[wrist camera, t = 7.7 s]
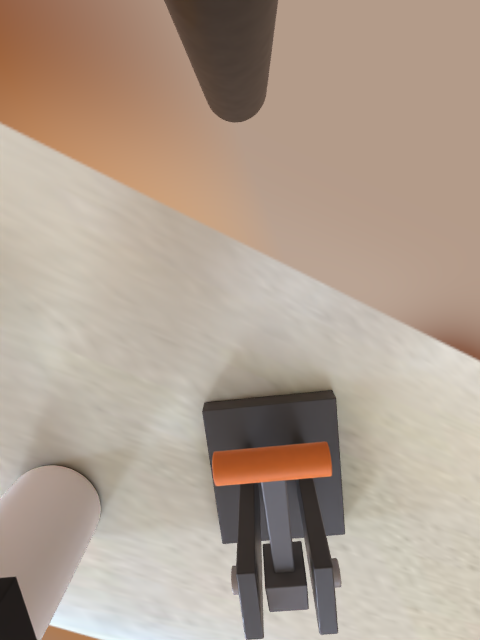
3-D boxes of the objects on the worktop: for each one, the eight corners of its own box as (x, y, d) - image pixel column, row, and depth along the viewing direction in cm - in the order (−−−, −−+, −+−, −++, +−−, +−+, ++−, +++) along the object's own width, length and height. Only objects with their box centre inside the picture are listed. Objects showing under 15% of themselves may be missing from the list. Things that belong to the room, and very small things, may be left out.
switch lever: (213, 436, 19) (210, 482, 17) (324, 425, 19) (334, 471, 17) (243, 569, 26) (244, 614, 24) (326, 563, 26) (333, 607, 24)
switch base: (204, 402, 34) (176, 515, 21) (332, 390, 33) (380, 498, 21) (223, 530, 37) (209, 695, 24) (341, 521, 36) (388, 685, 24)
